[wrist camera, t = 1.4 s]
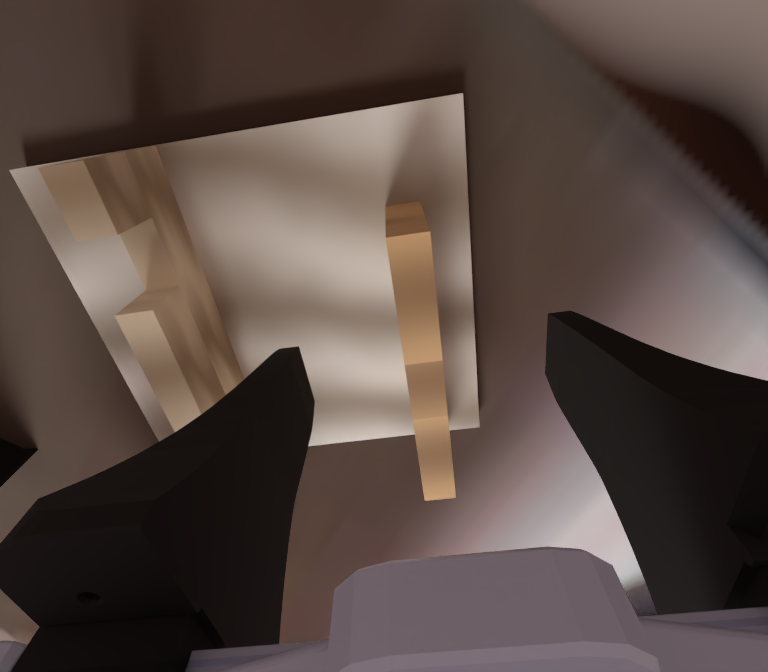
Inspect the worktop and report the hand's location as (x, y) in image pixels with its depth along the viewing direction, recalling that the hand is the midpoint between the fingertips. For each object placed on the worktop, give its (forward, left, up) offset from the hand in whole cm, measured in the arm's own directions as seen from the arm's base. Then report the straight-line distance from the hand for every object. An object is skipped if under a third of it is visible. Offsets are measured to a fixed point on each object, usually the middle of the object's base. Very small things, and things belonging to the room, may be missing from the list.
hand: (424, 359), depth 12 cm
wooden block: (-5, 0, -10) cm, 10 cm away
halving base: (-3, +7, -10) cm, 13 cm away
